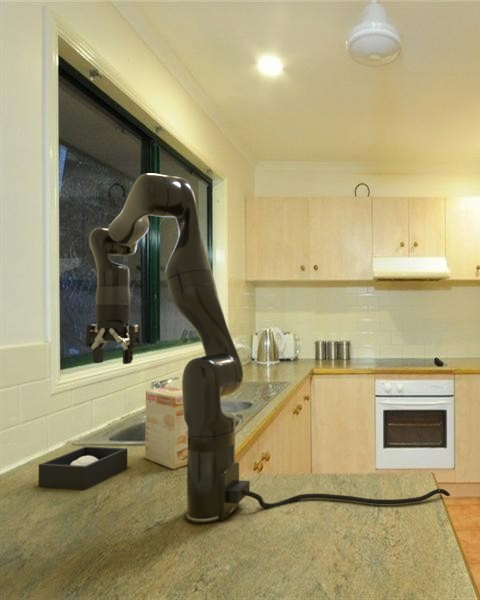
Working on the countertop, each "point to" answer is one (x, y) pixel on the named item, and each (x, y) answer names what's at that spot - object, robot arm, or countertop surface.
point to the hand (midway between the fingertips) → (112, 363)
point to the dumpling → (84, 461)
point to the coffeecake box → (166, 427)
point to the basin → (82, 468)
